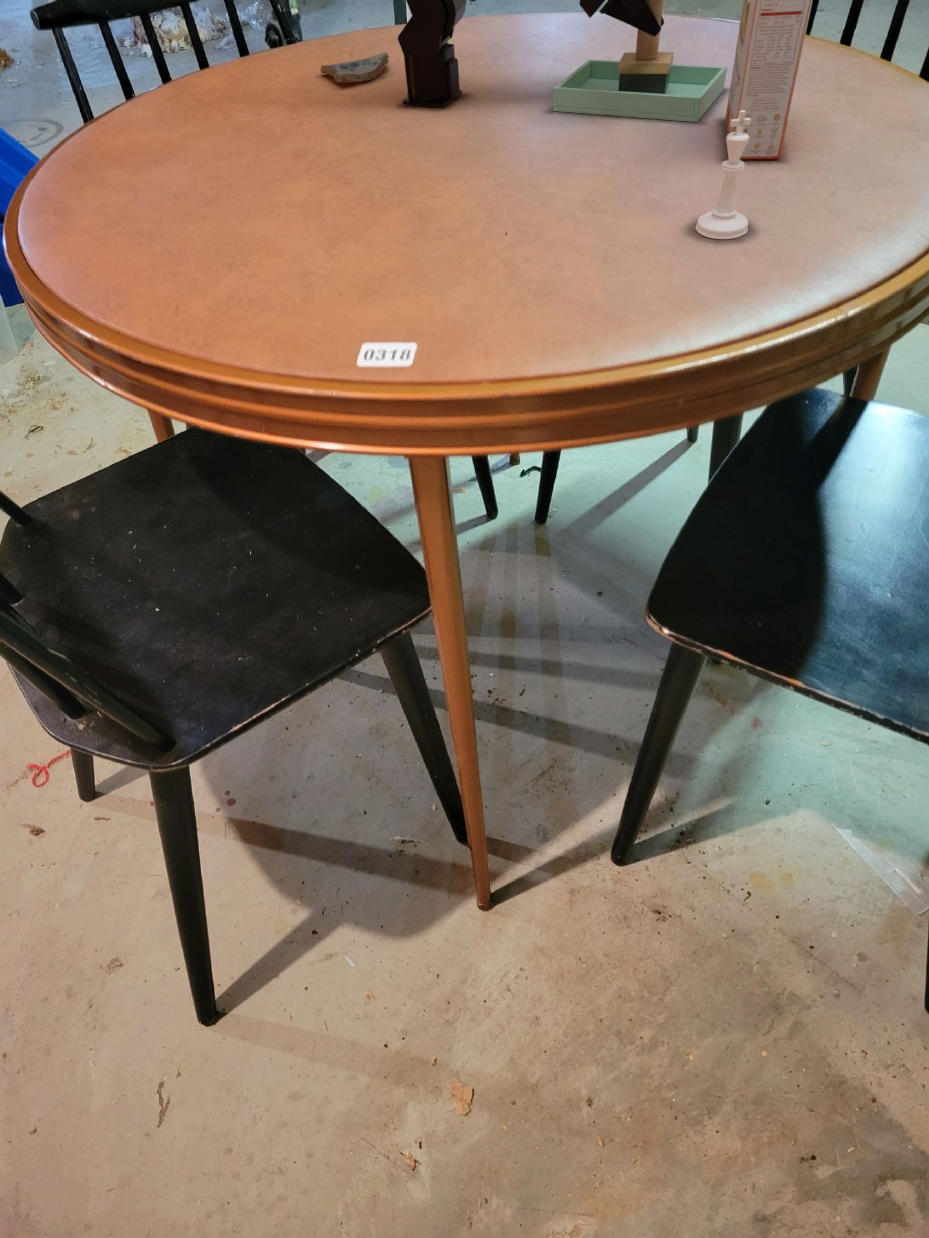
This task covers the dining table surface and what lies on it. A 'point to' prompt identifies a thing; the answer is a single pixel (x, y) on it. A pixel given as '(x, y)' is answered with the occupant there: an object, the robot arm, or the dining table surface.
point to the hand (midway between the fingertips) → (659, 30)
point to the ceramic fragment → (357, 69)
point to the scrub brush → (646, 62)
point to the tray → (599, 93)
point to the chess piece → (728, 190)
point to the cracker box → (766, 71)
